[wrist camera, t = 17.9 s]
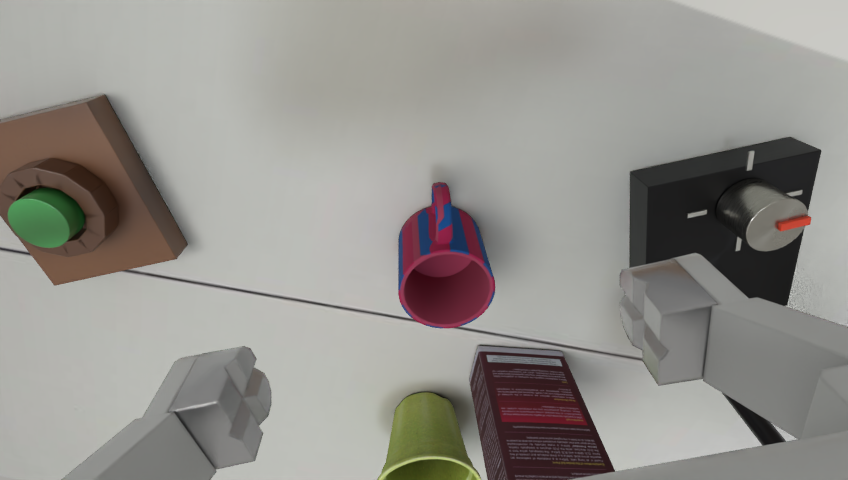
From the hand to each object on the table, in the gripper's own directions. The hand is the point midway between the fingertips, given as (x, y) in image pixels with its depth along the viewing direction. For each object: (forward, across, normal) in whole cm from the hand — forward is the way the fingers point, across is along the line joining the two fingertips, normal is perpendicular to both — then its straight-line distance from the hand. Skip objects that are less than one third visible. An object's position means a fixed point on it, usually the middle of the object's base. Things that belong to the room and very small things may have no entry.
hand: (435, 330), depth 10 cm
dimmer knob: (+22, -22, +13) cm, 34 cm away
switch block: (+25, +25, +2) cm, 35 cm away
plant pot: (+25, +6, +32) cm, 41 cm away
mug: (+25, 0, +11) cm, 28 cm away
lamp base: (+25, -21, +17) cm, 37 cm away
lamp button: (+22, +25, +2) cm, 33 cm away
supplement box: (+25, -4, +28) cm, 38 cm away
